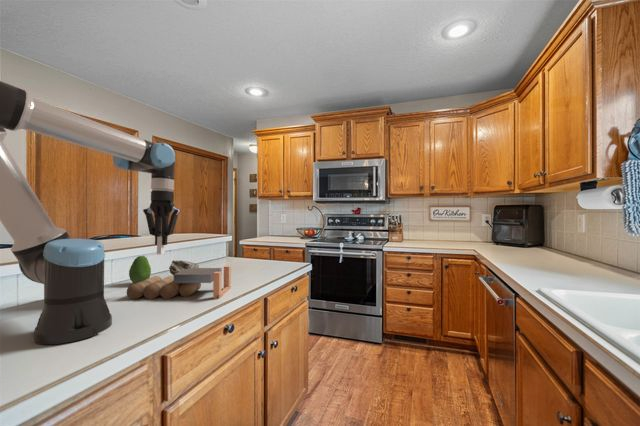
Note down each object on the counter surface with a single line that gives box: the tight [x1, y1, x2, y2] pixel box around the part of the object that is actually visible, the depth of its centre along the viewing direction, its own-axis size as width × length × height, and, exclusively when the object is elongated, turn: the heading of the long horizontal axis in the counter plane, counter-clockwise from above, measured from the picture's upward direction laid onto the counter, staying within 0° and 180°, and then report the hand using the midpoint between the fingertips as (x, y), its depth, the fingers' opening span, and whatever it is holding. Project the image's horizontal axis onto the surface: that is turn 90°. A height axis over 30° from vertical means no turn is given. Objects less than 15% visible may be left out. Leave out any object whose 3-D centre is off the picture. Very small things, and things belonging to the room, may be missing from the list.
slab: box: [173, 267, 222, 284], centre depth 106 cm, size 12×13×3 cm
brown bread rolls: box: [126, 275, 185, 300], centre depth 106 cm, size 14×16×5 cm
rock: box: [168, 259, 200, 277], centre depth 125 cm, size 18×10×10 cm, turn 6°
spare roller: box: [179, 283, 202, 297], centre depth 106 cm, size 8×5×5 cm
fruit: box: [128, 255, 152, 285], centre depth 119 cm, size 8×8×12 cm
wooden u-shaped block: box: [212, 265, 232, 300], centre depth 106 cm, size 14×2×9 cm, turn 1°
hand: (160, 253), depth 105 cm, fingers closed
